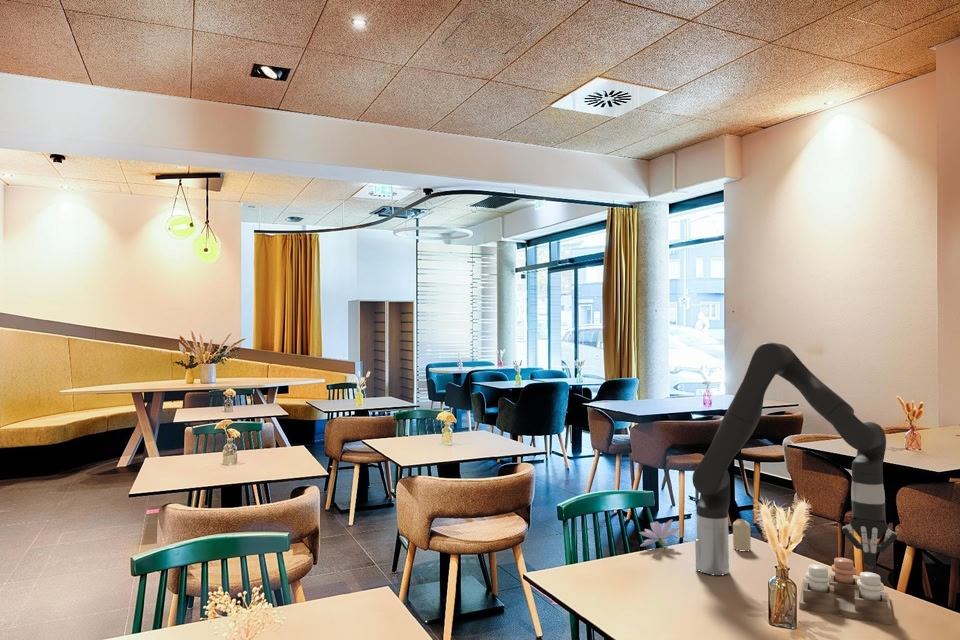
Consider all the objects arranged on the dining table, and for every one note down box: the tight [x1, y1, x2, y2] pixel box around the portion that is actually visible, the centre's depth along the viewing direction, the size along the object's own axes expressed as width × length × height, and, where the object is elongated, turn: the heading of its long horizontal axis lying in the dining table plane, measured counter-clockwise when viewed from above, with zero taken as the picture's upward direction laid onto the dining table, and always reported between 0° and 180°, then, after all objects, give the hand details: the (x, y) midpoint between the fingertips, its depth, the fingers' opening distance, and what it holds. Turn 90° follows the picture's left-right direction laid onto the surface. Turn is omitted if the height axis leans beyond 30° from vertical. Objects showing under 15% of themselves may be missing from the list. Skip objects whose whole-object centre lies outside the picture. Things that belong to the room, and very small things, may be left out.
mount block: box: [798, 573, 894, 626], centre depth 174 cm, size 21×19×4 cm
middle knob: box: [831, 557, 857, 584], centre depth 179 cm, size 6×6×6 cm
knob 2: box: [857, 571, 885, 601], centre depth 168 cm, size 6×6×6 cm
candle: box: [732, 518, 752, 552], centre depth 219 cm, size 6×6×10 cm
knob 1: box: [805, 564, 831, 592], centre depth 173 cm, size 6×6×6 cm
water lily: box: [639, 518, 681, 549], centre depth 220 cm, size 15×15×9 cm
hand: (870, 566), depth 168 cm, fingers closed
